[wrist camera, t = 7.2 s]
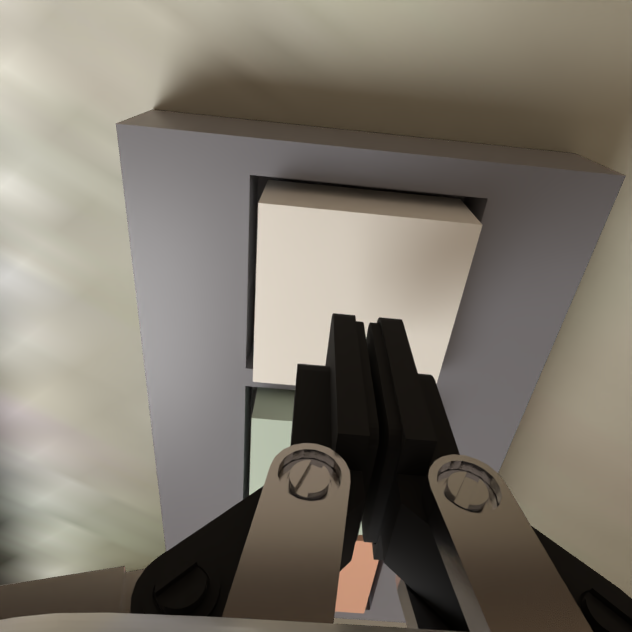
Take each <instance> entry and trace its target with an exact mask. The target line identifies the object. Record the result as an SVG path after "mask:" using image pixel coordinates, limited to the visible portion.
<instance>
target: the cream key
mask: <svg viewBox="0 0 632 632" xmlns="http://www.w3.org/2000/svg"><path fill="white" fill-rule="evenodd" d="M481 229H482V224H481V222H480V221H479V220H478V219H477V218H476V217H475V216H474V214H473V213H472V212H471V211H470V210H469V209H468V207H467V206H466V205H465V204H464V203H463V202H462V201H461V199H457V198H446V197H436V196H426V195H416V194H406V193H396V192H386V191H376V190H366V189H356V188H346V187H336V186H326V185H316V184H306V183H296V182H286V181H276V180H268V181H267V183H266V186H265V188H264V191H263V193H262V195H261V198H260V200H259V203H258V229H257V261H256V293H255V325H254V356H253V382H261V383H273V384H284V385H296V374H297V364H310V365H322V366H325V364H326V357H327V349H328V341H329V334H330V326H331V319H332V314H333V313H336V314H347V315H355V317H356V321H360V322H364V328H365V335H366V337H367V331H368V326H369V323H370V322H371V323H377V320H378V318H379V317H382V318H393V319H402V321H403V324H404V327H405V330H406V334H407V337H408V341H409V344H410V348H411V351H412V355H413V358H414V362H415V365H416V369H417V372H418V374H429V375H432V376H433V377H434V379H435V381H436V384H437V381H438V377H439V374H440V370H441V367H442V363H443V360H444V356H445V353H446V350H447V346H448V343H449V339H450V336H451V332H452V329H453V325H454V322H455V318H456V315H457V312H458V308H459V305H460V301H461V298H462V294H463V291H464V287H465V284H466V280H467V277H468V274H469V270H470V267H471V263H472V260H473V256H474V253H475V249H476V246H477V242H478V239H479V235H480V232H481Z"/></svg>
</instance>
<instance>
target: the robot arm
mask: <svg viewBox="0 0 632 632" xmlns="http://www.w3.org/2000/svg"><path fill="white" fill-rule="evenodd" d="M361 523H362V535H363V541H364V542H369V543H372V549H373V559H374V560H384V563H385V564H386V565H387V566H388V567H389V568H390V569H391V570H392V571H393V572H394V573H395V574H396V579H395V580H396V588H397V593H398V596H399V600H400V603H401V607H402V611H403V614H404V618H405V621H406V625H407V628H397V627H380V626H364V625H347V624H333V623H334V615H335V607H336V598H337V590H338V582H339V573H340V571H341V570H342V569H343V568H344V567H345V566H346V565H347V564H348V563H349V562H351V560H352V556H353V551H354V547H355V542H356V541H357V538H358V534H359V529H360V525H361ZM0 632H632V599H631V598H630V597H629V596H628V595H627V594H625V593H624V592H623V591H622V590H621V589H619V588H618V587H617V586H615V585H614V584H612V583H611V582H610V581H608V580H607V579H605V578H604V577H603V576H601V575H600V574H598V573H597V572H596V571H594V570H593V569H591V568H590V567H588V566H587V565H586V564H584V563H583V562H581V561H580V560H579V559H577V558H576V557H574V556H573V555H572V554H570V553H569V552H567V551H566V550H564V549H563V548H562V547H560V546H559V545H557V544H556V543H555V542H553V541H552V540H550V539H549V538H548V537H546V536H545V535H543V534H542V533H541V532H539V531H538V530H536V529H535V528H533V527H532V526H531V525H530V523H529V522H528V520H527V518H526V517H525V515H524V513H523V511H522V510H521V508H520V506H519V505H518V503H517V501H516V500H515V498H514V496H513V494H512V493H511V491H510V489H509V488H508V486H507V484H506V483H505V481H504V480H503V479H502V478H501V476H500V475H499V474H498V473H497V472H496V471H495V470H493V469H492V468H491V467H490V466H489V465H487V464H485V463H483V462H481V461H480V460H478V459H475V458H472V457H469V456H466V455H460V453H459V450H458V447H457V444H456V441H455V438H454V435H453V432H452V429H451V426H450V423H449V420H448V417H447V414H446V411H445V408H444V405H443V402H442V399H441V396H440V393H439V390H438V387H437V384H436V381H435V379H434V377H433V376H432V375H429V374H418V372H417V369H416V365H415V362H414V358H413V355H412V351H411V348H410V344H409V341H408V337H407V334H406V330H405V327H404V324H403V321H402V319H393V318H382V317H379V318H378V320H377V323H371V322H370V323H369V326H368V331H367V337H366V335H365V328H364V322H360V321H356V317H355V315H347V314H336V313H333V314H332V319H331V326H330V334H329V341H328V349H327V357H326V364H325V366H322V365H310V364H297V374H296V385H295V396H294V407H293V419H292V431H291V444H290V447H287V448H285V449H283V450H282V451H281V452H280V453H279V454H277V455H276V456H275V458H274V459H273V461H272V463H271V465H270V468H269V471H268V474H267V477H266V480H265V483H264V486H262V487H261V488H260V489H258V490H257V491H255V492H254V493H252V494H251V495H249V496H248V497H246V498H245V499H243V500H242V501H240V502H239V503H237V504H236V505H234V506H233V507H231V508H230V509H228V510H227V511H226V512H224V513H223V514H221V515H220V516H218V517H217V518H215V519H214V520H212V521H211V522H209V523H208V524H206V525H205V526H203V527H202V528H200V529H199V530H197V531H196V532H194V533H193V534H192V535H190V536H189V537H187V538H186V539H184V540H183V541H181V542H180V543H178V544H177V545H175V546H174V547H172V548H171V549H169V550H168V551H166V552H165V553H163V554H162V555H161V556H159V557H158V558H157V559H155V560H154V561H153V562H152V563H151V564H150V565H148V566H147V567H146V568H145V569H142V570H136V571H129V572H126V571H125V566H121V567H115V568H109V569H102V570H96V571H90V572H84V573H77V574H71V575H65V576H58V577H52V578H46V579H39V580H33V581H27V582H21V583H14V584H8V585H2V586H0Z"/></svg>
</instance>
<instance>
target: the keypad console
mask: <svg viewBox="0 0 632 632" xmlns="http://www.w3.org/2000/svg"><path fill="white" fill-rule="evenodd" d="M116 128H117V137H118V145H119V154H120V162H121V171H122V179H123V188H124V196H125V205H126V213H127V222H128V230H129V239H130V248H131V256H132V265H133V273H134V282H135V290H136V299H137V307H138V316H139V324H140V333H141V341H142V350H143V358H144V367H145V376H146V384H147V393H148V401H149V410H150V418H151V427H152V435H153V444H154V452H155V461H156V469H157V478H158V486H159V495H160V504H161V512H162V521H163V529H164V538H165V546H166V551H168V550H169V549H171V548H172V547H174V546H175V545H177V544H178V543H180V542H181V541H183V540H184V539H186V538H187V537H189V536H190V535H192V534H193V533H194V532H196V531H197V530H199V529H200V528H202V527H203V526H205V525H206V524H208V523H209V522H211V521H212V520H214V519H215V518H217V517H218V516H220V515H221V514H223V513H224V512H226V511H227V510H228V509H230V508H231V507H233V506H234V505H236V504H237V503H239V502H240V501H242V500H243V499H245V498H246V497H248V496H249V483H250V451H251V420H252V413H253V408H254V403H255V398H256V393H257V388H258V387H264V388H276V389H287V390H295V385H284V384H273V383H261V382H253V356H254V325H255V293H256V261H257V229H258V203H259V200H260V198H261V195H262V193H263V191H264V188H265V186H266V183H267V181H268V180H276V181H286V182H296V183H306V184H316V185H326V186H336V187H346V188H356V189H366V190H376V191H386V192H396V193H406V194H416V195H426V196H436V197H446V198H457V199H461V201H462V202H463V203H464V204H465V205H466V206H467V207H468V209H469V210H470V211H471V212H472V213H473V214H474V216H475V217H476V218H477V219H478V220H479V221H480V222H481V224H482V229H481V232H480V235H479V239H478V242H477V246H476V249H475V253H474V256H473V260H472V263H471V267H470V270H469V274H468V277H467V280H466V284H465V287H464V291H463V294H462V298H461V301H460V305H459V308H458V312H457V315H456V318H455V322H454V325H453V329H452V332H451V336H450V339H449V343H448V346H447V350H446V353H445V356H444V360H443V363H442V367H441V370H440V374H439V377H438V381H437V387H438V390H439V393H440V396H441V399H442V402H443V405H444V408H445V411H446V414H447V417H448V420H449V423H450V426H451V429H452V432H453V435H454V438H455V441H456V444H457V447H458V450H459V453H460V455H466V456H469V457H472V458H475V459H478V460H480V461H481V462H483V463H485V464H487V465H489V466H490V467H491V468H492V469H493V470H495V471H496V472H497V473H498V472H499V470H500V468H501V465H502V463H503V461H504V458H505V456H506V454H507V451H508V449H509V447H510V444H511V442H512V440H513V437H514V435H515V433H516V430H517V428H518V426H519V423H520V421H521V419H522V416H523V414H524V412H525V409H526V407H527V405H528V402H529V400H530V398H531V395H532V393H533V391H534V388H535V386H536V384H537V381H538V379H539V377H540V374H541V372H542V370H543V367H544V365H545V363H546V360H547V358H548V356H549V353H550V351H551V349H552V346H553V344H554V342H555V339H556V337H557V335H558V333H559V330H560V328H561V326H562V323H563V321H564V319H565V316H566V314H567V312H568V309H569V307H570V305H571V302H572V300H573V298H574V295H575V293H576V291H577V288H578V286H579V284H580V281H581V279H582V277H583V274H584V272H585V270H586V267H587V265H588V263H589V260H590V258H591V256H592V253H593V251H594V249H595V246H596V244H597V242H598V239H599V237H600V235H601V232H602V230H603V228H604V225H605V223H606V221H607V218H608V216H609V214H610V211H611V209H612V207H613V204H614V202H615V200H616V197H617V195H618V193H619V190H620V188H621V186H622V183H623V181H624V179H625V175H623V174H620V173H618V172H616V171H614V170H611V169H609V168H607V167H605V166H602V165H600V164H598V163H596V162H593V161H591V160H589V159H587V158H584V157H582V156H580V155H577V154H575V153H565V152H555V151H546V150H536V149H527V148H517V147H507V146H498V145H488V144H478V143H469V142H459V141H449V140H440V139H430V138H421V137H411V136H401V135H392V134H382V133H372V132H363V131H353V130H343V129H334V128H324V127H315V126H305V125H295V124H286V123H276V122H266V121H257V120H247V119H237V118H228V117H218V116H209V115H199V114H189V113H180V112H170V111H160V110H150V111H147V112H145V113H142V114H140V115H137V116H134V117H132V118H129V119H127V120H124V121H121V122H119V123H116ZM395 579H396V574H395V573H394V572H393V571H392V570H391V569H390V568H389V567H388V566H387V565H386V564H385V563H384V560H379V561H378V565H377V569H376V572H375V576H374V579H373V583H372V587H371V590H370V594H369V597H368V601H367V605H366V608H365V612H364V613H349V612H335V615H334V618H345V619H359V620H374V621H388V622H403V623H406V621H405V618H404V614H403V611H402V607H401V603H400V600H399V596H398V593H397V588H396V580H395Z"/></svg>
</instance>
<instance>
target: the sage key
mask: <svg viewBox="0 0 632 632" xmlns="http://www.w3.org/2000/svg"><path fill="white" fill-rule="evenodd" d="M294 396H295V390H287V389H276V388H264V387H258V388H257V393H256V398H255V403H254V408H253V413H252V420H251V451H250V483H249V495H251V494H252V493H254V492H255V491H257V490H258V489H260V488H261V487H262V486H264V483H265V480H266V477H267V474H268V471H269V468H270V465H271V463H272V461H273V459H274V458H275V456H276V455H277V454H279V453H280V452H281V451H282V450H283V449H285V448H287V447H290V444H291V431H292V419H293V407H294ZM358 535H362V523H361V525H360V529H359V534H358Z"/></svg>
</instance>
